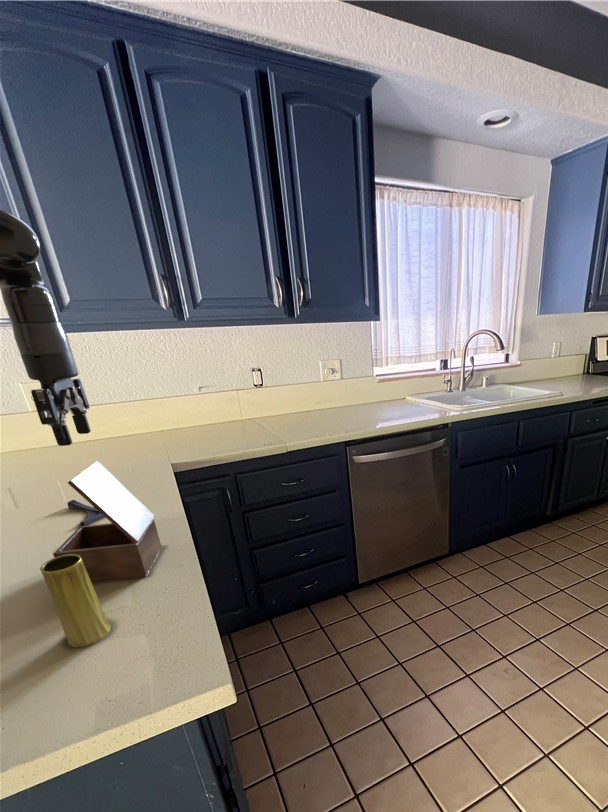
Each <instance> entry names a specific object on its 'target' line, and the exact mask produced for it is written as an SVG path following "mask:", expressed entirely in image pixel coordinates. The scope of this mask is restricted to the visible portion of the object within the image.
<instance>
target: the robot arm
mask: <svg viewBox="0 0 608 812" xmlns="http://www.w3.org/2000/svg"><path fill="white" fill-rule="evenodd" d="M40 254H41V243H40V240H39V237H38V235H37V233H36V232H35V231H34V229H33V228H32V227H30V225H29V224H27V223H26V222H25V221H23V220H22V219H21V218H19V217H17V216H15V215H13V214H12V213H9V212H7V211H5V210H2V209H0V294H1V297H2V301H3V304H4V307H5V310H6V312H7V313H6V314H7V315H8V319H9V321H10V323H11V327H12V332H13V337H14V341H15V343H16V346H17V348H18V349H17V350H18V351H19V355H20V358H21V360H22V363H23V365H24V368H25V371H26V374H27V377H28V378H29V379H30V380H32V381H37V382H39V384H40V388H36V389H31V391H30V392H31V397H32V399H33V402H34V406H35V407H36V408H35V409H36V412H37V415H38V418H39V421H40V423H41V425H43V426H45V425H47V426H49V427H50V428H51V431H52V433H53V436H54V438H55V441H56V444H57V445H58V446H59V447H63V446H70V445H72V444H73V440H72V437H71V434H70V430H69V428H68V425H67V424H66V422H67V421H66V415H68V414H69V413H70V414H71V417H72V420H73V423H74V426H75V430H76V433H77V434H79V435H85V434H86V435H87V434H90V433H91V431H92V430H91V427H90V424H89V421H88V418H87V414H88V412H87V411H88V410H89V409H90V404H89V400H88V398H87V395H86V391H85V389H84V386H83V383H82V380H81V379H80V378H76V377H78V376H79V370H78V366H77V363H76V360H75V357H74V353H73V351H72V347H71V344H70V341H69V338H68V335H67V333H66V330H65V328H64V326H63V323H62V322H61V317H60V314H59V311H58V308H57V305H56V302H55V299H54V296H53V294H52V292H51V291H50V289H49V288H48V287H47V285H46V284H45V281H44V278H43V277H44V276H43V275H42V274H43V273H42V271H41V269H40V265H39V262H38V259H39V257H40Z"/></svg>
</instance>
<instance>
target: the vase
mask: <svg viewBox="0 0 608 812" xmlns="http://www.w3.org/2000/svg"><path fill="white" fill-rule="evenodd" d="M39 570H40V572H41V575H42V576H43V578H44V581H45V583H46V586H47V588H48V591H49V593H50V596H51V600H52V602H53V603H52V604H53V606H54V609H55V611H56V613H57V616H58V618H59V621H60V625H61V627H62V631H63V633H64V635H65V638H66V639H67V644H68V645H69V646H72V647H73V648H82V647H87V646H90V645H92V644H95V643H97V642H99V641H101V640H102V639H104V638H105V637H106V636H107V635H108V634H109V633H110V630H111V627H112V626H111V625H110V623H109V620H108V619H107V616H106V614H105V611H104V609H103V606H102V605H101V602H100V600H99V597H98V595H97V592H96V590H95V587H94V585H93V583H91V581H90V578H89V576H88V573H87V571H86V569H85V566H84V564H83V561H82V558H81V557H80V556H79V555H76V554H67V555H62V556H58V557H55V558H54V557H53V558H51V559H49V560H47V561H45V562H43V564H42V565H41V566H40V567H39Z"/></svg>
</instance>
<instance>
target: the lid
mask: <svg viewBox="0 0 608 812" xmlns="http://www.w3.org/2000/svg"><path fill="white" fill-rule="evenodd" d="M67 484H68V485H69V486H70V487H71V488H72V489H73V490H75V491H76V492H77V493H78V494H79V495H80V496H81V497H82V498H83V499H84V500H86V501H87V502H88V503H89V504H90V505H91V507H95V508H96V509H97V510H98V511H99V512H100V513H101V514H102V515H104V516H105V517H104V518H105V519H107V521H109V523H112V524H114V525H115V526H116V527H117V528H118V529H119V530H120V531H121V532H122V533H123V534H125V535H126V536H127V537H128V538H129V539H130V540H131V541H132V542H133V543H137V542H138V541H139V539H140V538H141V536H142V535H143V533H144V532H145V530H146V529H147V527H148V526H149V524H150V523H151V521H152V520H153V519H154V518H155V515H154V514H153V513H152V512H151V511H150V510H149V509H148V508H147V507H146V506H145V505H144V504H143V503H142V502H141V501H140V500H139V499H138V498H137V497H136V496H135V495H133V494H132V493H131V492H130V490H128V489H127V488H126V487H125V486H124V485H123V484H122V483H121V482H120V481H119V480H118V479H117V478H116V477H115V475H113V474H112V473H111V472H110V471H109V470H108V469H107V468H106V467H105V466H103V464H101V462H100V461H98V460H95V461H93V462H92V463H91V464H89V465H88V466H87V467H86V468H85V469H83V470H82V471H81V472H79V473H78V474H77V475H75V476H74V477H73V478H72V479H70V480H69V481H67Z"/></svg>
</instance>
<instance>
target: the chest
mask: <svg viewBox="0 0 608 812" xmlns="http://www.w3.org/2000/svg"><path fill="white" fill-rule="evenodd" d="M155 521H156V520H155V519H154V518H153V520H152V521H151V523H150V524H149V526H148V527H147V529H146V530H145V532H144V533H143V535H142V536H141V538H140V539H139V541H138V542H137V543H133V542H132V541H131V540H130V539H129V538H128V537H127V536H126V535H125V534H123V533H122V532H121V531H120V530H119V529H118V528H117V527H116V526H115V525H114V524H112V523H111V522H109V523H99V524H89V525H87V526H84V525H82V526H81V525H79V527H77V529H75V531H73V533H72V534H71V535H70V536H69V537H68V538H67V539H66V540H65V541H64V542H63V543H62V544H61V545H60V546H59V547H57V549H56V550H55V551H54V552H53V553H52V555H53V558H55V557H58V556H62V555H67V554H76V555H79V556H80V557H81V558H82V561H83V564H84V566H85V569H86V571H87V573H88V576H89V578H90V581H91V583H92V584H95V583H96V584H97V583H103V582H113V581H120V580H129V579H136V578H137V579H138V578H145V577H148V574H149V573H150V572H151V569H152V567H153V565H154V563H155V562H156V560H157V558H158V556H159V554H160V553H161V551H162V549H163V547H162V543H161V539H160V536H159V532H158V528H157V525H156V522H155Z"/></svg>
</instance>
